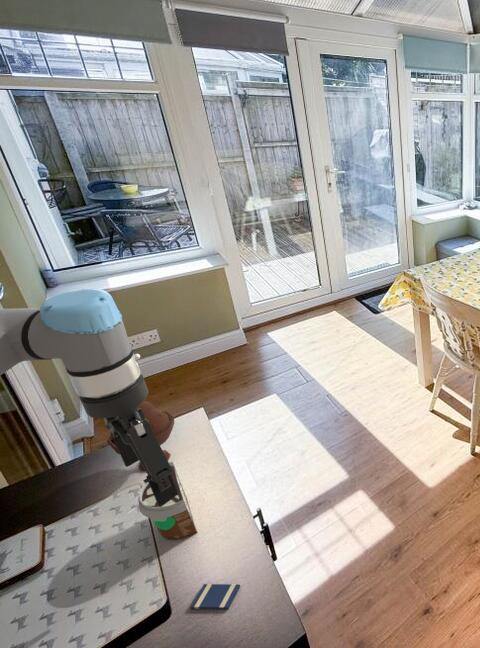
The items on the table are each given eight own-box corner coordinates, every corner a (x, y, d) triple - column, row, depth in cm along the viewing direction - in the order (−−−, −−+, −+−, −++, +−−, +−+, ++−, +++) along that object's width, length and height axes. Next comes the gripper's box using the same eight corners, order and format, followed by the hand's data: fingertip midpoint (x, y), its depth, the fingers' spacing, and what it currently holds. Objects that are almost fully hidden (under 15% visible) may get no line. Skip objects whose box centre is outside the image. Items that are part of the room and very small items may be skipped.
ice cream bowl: (109, 476, 88) (83, 422, 82) (160, 437, 98) (140, 387, 92) (148, 487, 86) (124, 434, 80) (196, 446, 96) (178, 396, 90)
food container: (147, 514, 81) (131, 478, 77) (186, 494, 85) (172, 459, 81) (157, 562, 73) (139, 524, 69) (199, 538, 77) (184, 501, 73)
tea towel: (191, 609, 67) (190, 606, 67) (204, 585, 70) (203, 583, 70) (228, 609, 67) (227, 607, 67) (240, 586, 70) (239, 584, 70)
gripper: (175, 402, 62) (208, 499, 70) (111, 345, 74) (146, 434, 82) (111, 434, 56) (156, 535, 64) (52, 366, 68) (97, 460, 76)
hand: (150, 479), depth 73 cm, fingers open, 13 cm apart
